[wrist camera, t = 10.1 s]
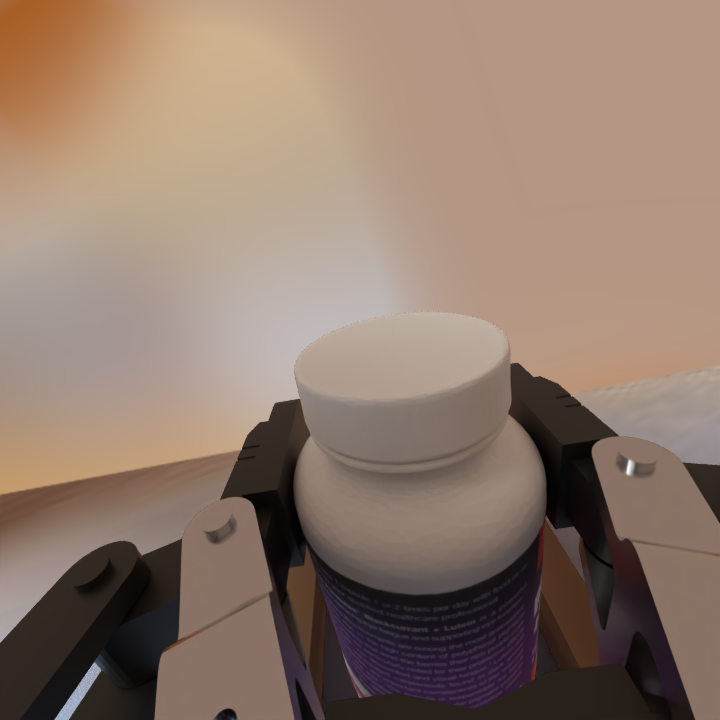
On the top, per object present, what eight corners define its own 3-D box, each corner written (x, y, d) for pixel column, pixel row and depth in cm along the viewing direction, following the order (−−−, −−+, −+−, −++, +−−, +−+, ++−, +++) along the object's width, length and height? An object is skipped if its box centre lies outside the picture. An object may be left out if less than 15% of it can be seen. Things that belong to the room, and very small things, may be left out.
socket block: (235, 1037, 7) (201, 1029, 6) (299, 549, 17) (289, 521, 16) (782, 981, 7) (823, 966, 6) (522, 515, 17) (523, 485, 16)
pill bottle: (584, 725, 8) (659, 366, 4) (369, 808, 8) (231, 480, 4) (474, 537, 13) (462, 287, 9) (337, 579, 13) (262, 331, 9)
